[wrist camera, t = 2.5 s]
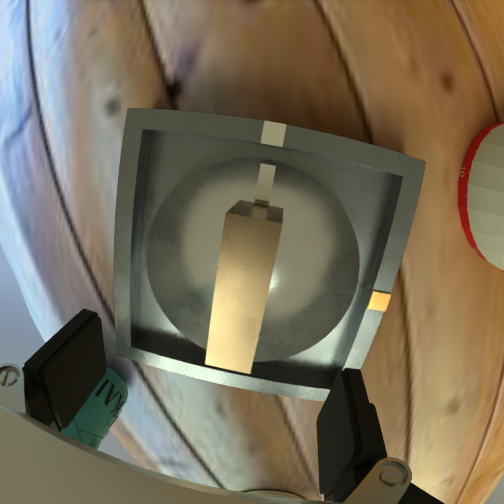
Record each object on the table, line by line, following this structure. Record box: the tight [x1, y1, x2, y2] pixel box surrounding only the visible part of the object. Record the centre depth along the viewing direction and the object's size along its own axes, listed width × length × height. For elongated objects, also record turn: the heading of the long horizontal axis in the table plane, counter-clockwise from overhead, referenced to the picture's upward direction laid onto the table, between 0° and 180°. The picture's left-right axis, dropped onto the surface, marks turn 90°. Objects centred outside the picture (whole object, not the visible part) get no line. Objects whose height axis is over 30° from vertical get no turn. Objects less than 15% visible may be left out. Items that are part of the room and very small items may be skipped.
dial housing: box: [114, 108, 426, 401], centre depth 23 cm, size 21×21×4 cm
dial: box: [146, 158, 360, 374], centre depth 20 cm, size 16×16×6 cm
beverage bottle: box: [60, 367, 128, 449], centre depth 22 cm, size 6×7×20 cm
